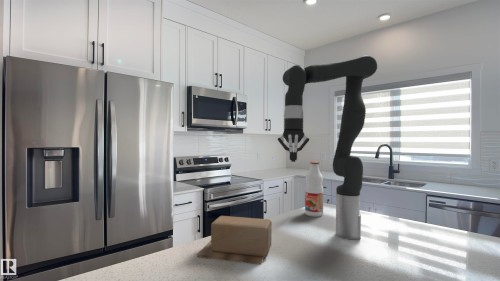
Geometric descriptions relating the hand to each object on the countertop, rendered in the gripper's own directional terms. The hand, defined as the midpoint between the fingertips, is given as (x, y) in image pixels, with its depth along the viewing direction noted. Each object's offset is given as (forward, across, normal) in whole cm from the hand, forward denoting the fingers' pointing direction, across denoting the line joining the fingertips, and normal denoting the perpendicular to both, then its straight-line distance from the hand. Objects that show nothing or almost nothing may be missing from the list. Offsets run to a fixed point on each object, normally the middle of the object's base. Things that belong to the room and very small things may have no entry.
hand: (293, 161), depth 103 cm
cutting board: (+31, +20, +15) cm, 40 cm away
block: (+25, +7, +15) cm, 30 cm away
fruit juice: (+31, -9, -38) cm, 50 cm away
